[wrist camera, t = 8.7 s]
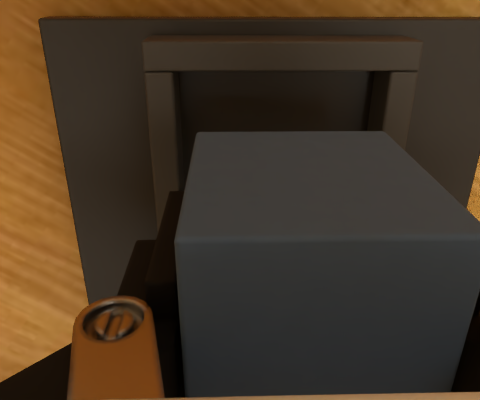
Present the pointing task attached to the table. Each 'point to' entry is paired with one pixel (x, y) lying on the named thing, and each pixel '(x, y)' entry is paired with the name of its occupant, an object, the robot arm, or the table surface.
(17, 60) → the table surface
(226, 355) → the blue-grey block
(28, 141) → the table surface
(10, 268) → the table surface
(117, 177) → the backing plate
